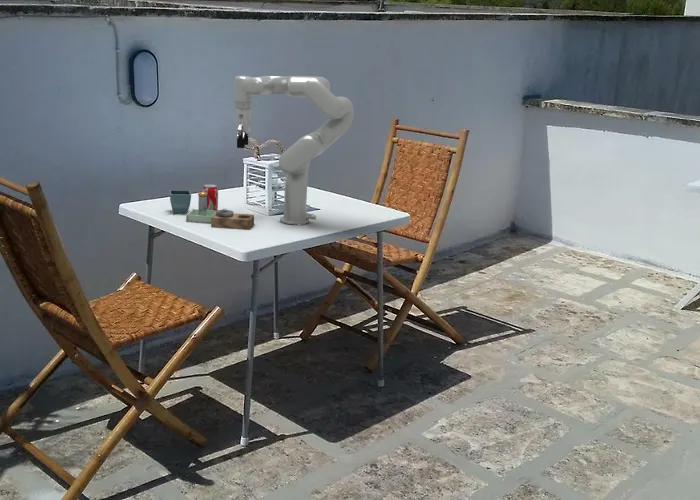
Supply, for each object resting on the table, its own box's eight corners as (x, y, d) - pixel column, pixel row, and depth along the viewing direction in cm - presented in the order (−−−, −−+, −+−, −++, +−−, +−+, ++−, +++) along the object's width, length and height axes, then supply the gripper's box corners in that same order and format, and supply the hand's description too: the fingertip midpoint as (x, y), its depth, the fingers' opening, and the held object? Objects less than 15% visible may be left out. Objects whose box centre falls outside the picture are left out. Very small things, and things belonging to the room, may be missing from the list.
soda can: (214, 214, 347) (214, 187, 344) (198, 213, 348) (199, 186, 345) (220, 211, 354) (220, 184, 350) (205, 209, 355) (205, 183, 352)
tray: (218, 217, 343) (218, 210, 342) (212, 223, 332) (212, 216, 331) (192, 215, 343) (192, 209, 342) (186, 221, 332) (186, 214, 332)
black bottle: (207, 217, 339) (208, 192, 336) (205, 219, 335) (206, 193, 333) (199, 217, 339) (199, 191, 336) (196, 219, 336) (197, 193, 333)
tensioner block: (254, 224, 336) (254, 208, 334) (250, 229, 326) (250, 214, 324) (216, 221, 336) (216, 205, 335) (211, 227, 327) (211, 211, 325)
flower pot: (189, 210, 353) (189, 190, 350) (191, 214, 345) (191, 194, 342) (169, 210, 350) (169, 190, 348) (170, 215, 342) (170, 194, 340)
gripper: (249, 108, 329) (248, 149, 334) (255, 104, 346) (254, 144, 350) (230, 107, 329) (230, 148, 334) (237, 103, 346) (237, 143, 351)
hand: (242, 146), depth 342 cm, fingers open, 9 cm apart
